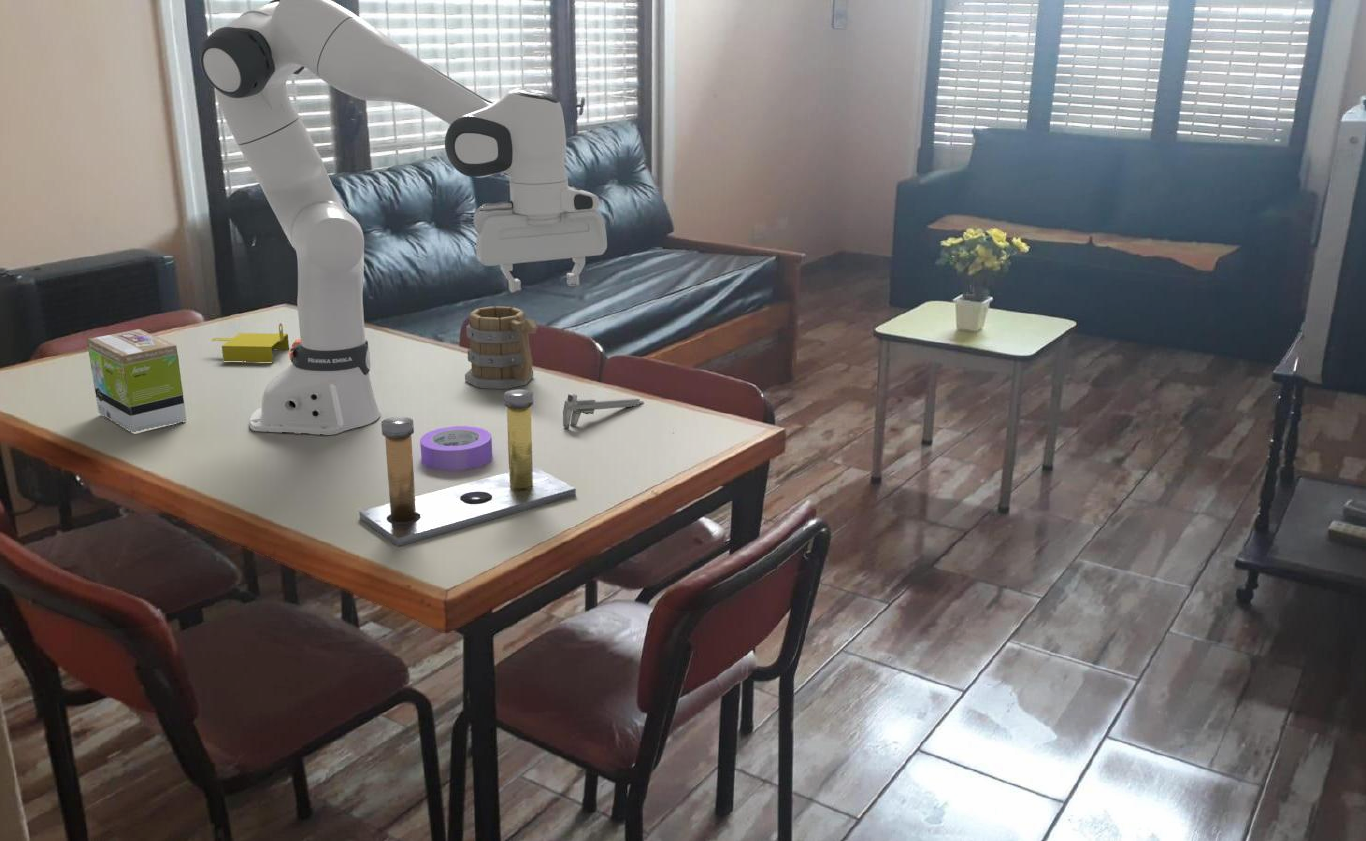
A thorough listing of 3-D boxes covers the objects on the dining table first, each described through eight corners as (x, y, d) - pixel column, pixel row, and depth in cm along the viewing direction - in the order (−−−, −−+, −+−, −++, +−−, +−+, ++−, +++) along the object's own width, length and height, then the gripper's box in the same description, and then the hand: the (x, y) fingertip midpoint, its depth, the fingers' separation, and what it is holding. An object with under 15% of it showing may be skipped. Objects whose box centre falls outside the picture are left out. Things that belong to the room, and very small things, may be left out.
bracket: (223, 313, 260) (292, 314, 260) (227, 348, 263) (295, 349, 262) (194, 331, 245) (268, 332, 245) (199, 368, 248) (271, 369, 248)
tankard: (456, 377, 243) (453, 305, 238) (511, 367, 250) (509, 297, 245) (504, 403, 228) (501, 326, 223) (561, 391, 235) (560, 317, 230)
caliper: (567, 430, 214) (566, 397, 212) (563, 429, 215) (562, 396, 213) (643, 404, 229) (644, 372, 227) (639, 403, 230) (639, 371, 228)
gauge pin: (516, 491, 183) (513, 400, 178) (501, 482, 186) (498, 393, 181) (541, 484, 185) (538, 394, 180) (525, 476, 188) (522, 387, 184)
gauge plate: (398, 546, 167) (397, 538, 167) (360, 518, 176) (359, 510, 175) (575, 495, 185) (575, 487, 185) (533, 472, 194) (532, 465, 194)
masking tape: (429, 475, 193) (428, 453, 191) (414, 452, 203) (413, 430, 202) (500, 466, 197) (499, 444, 196) (482, 443, 207) (481, 422, 206)
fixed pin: (396, 525, 170) (390, 429, 166) (382, 516, 174) (375, 420, 169) (424, 518, 173) (418, 422, 168) (410, 508, 176) (404, 414, 172)
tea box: (96, 416, 217) (84, 337, 212) (151, 403, 224) (140, 327, 219) (132, 436, 208) (121, 353, 203) (189, 422, 215) (178, 342, 210)
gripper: (477, 207, 176) (484, 299, 181) (609, 197, 184) (611, 285, 188) (467, 201, 181) (474, 290, 186) (595, 191, 189) (598, 277, 194)
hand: (544, 288), depth 187 cm, fingers open, 8 cm apart
